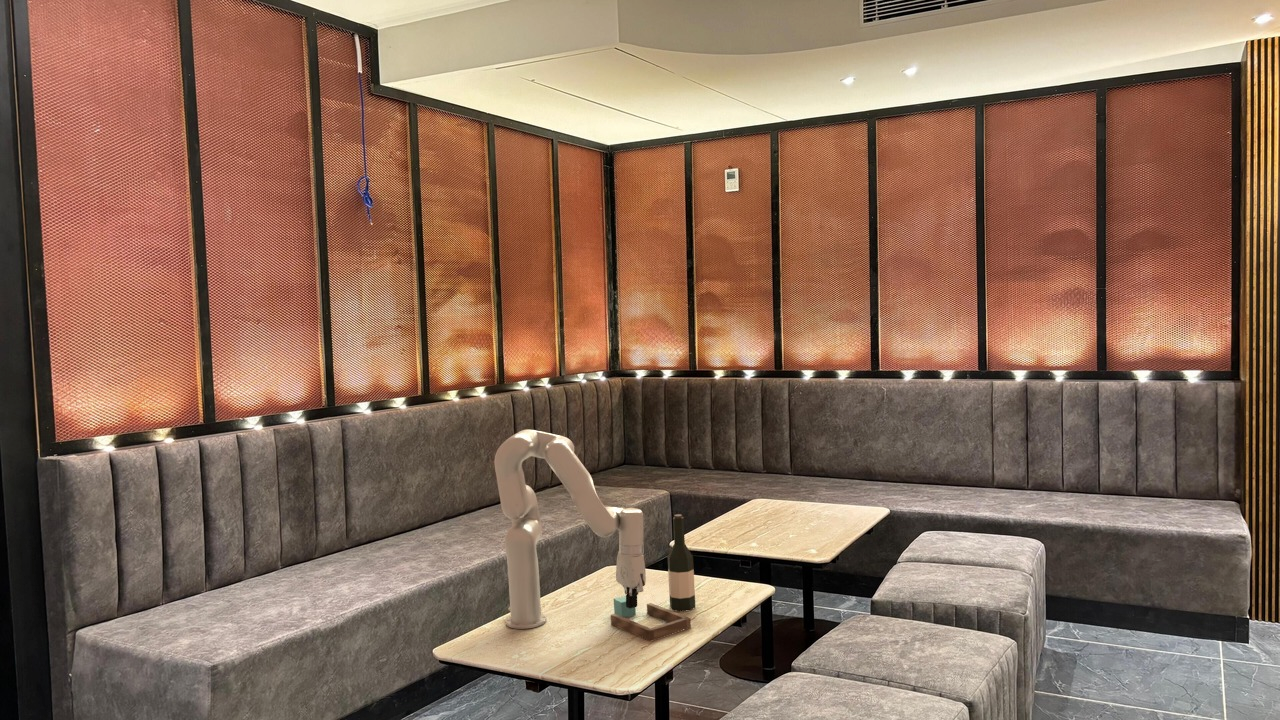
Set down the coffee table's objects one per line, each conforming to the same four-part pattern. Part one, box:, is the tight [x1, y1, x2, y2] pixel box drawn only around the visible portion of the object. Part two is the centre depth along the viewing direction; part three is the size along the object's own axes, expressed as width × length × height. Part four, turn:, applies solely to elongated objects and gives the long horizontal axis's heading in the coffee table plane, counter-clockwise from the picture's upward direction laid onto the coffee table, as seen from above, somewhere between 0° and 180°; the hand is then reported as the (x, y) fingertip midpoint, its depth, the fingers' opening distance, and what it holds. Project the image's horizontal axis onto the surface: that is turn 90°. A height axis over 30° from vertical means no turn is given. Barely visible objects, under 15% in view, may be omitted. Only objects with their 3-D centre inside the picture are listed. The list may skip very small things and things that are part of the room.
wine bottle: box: [667, 513, 696, 612], centre depth 281 cm, size 8×8×30 cm
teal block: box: [613, 595, 637, 618], centre depth 278 cm, size 5×5×5 cm
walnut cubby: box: [610, 602, 692, 642], centre depth 266 cm, size 20×16×3 cm
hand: (631, 606), depth 272 cm, fingers closed
